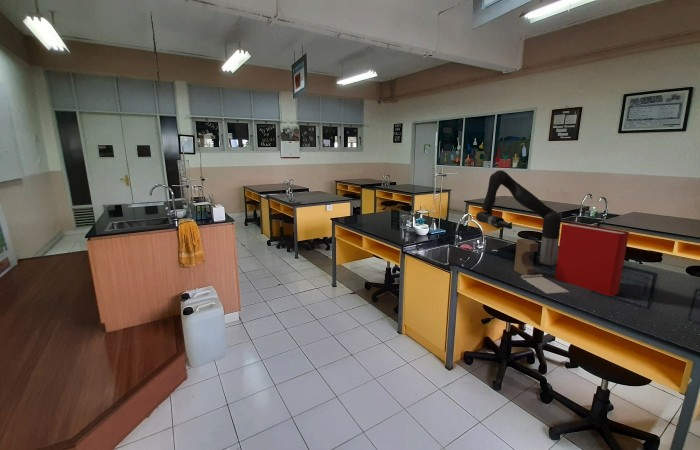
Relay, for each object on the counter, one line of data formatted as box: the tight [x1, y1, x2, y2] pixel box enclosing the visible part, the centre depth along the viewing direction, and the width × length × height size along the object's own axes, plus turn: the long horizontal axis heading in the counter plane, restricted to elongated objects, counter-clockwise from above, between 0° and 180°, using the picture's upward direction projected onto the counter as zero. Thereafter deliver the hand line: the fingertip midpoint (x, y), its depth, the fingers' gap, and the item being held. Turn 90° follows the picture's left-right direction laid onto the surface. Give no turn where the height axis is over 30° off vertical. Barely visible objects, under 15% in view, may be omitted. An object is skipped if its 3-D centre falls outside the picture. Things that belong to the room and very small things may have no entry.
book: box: [554, 222, 630, 297], centre depth 169 cm, size 27×8×32 cm, turn 30°
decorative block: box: [513, 238, 539, 275], centre depth 189 cm, size 11×6×20 cm, turn 12°
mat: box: [520, 273, 570, 295], centre depth 174 cm, size 12×22×2 cm, turn 6°
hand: (510, 227), depth 202 cm, fingers closed
